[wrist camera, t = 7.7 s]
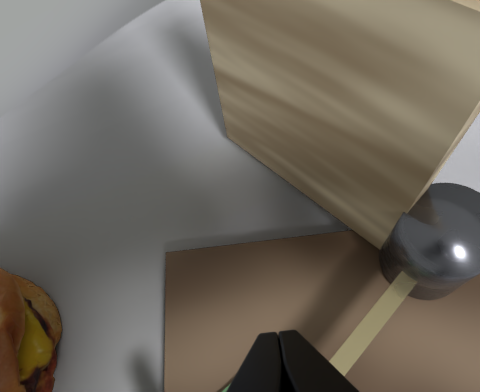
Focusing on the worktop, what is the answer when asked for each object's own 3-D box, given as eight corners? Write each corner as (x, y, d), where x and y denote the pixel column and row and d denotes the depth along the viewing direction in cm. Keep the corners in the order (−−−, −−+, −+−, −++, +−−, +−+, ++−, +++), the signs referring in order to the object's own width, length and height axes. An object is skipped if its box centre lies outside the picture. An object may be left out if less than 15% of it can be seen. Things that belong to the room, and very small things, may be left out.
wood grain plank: (283, 523, 13) (291, 952, 3) (75, 267, 19) (-180, 94, 8) (477, 258, 17) (782, 28, 7) (257, 111, 23) (236, -139, 12)
